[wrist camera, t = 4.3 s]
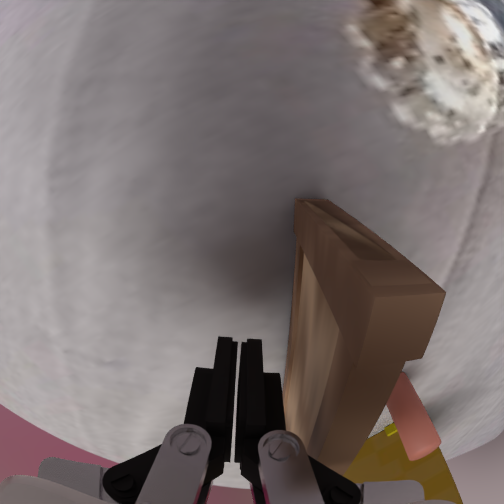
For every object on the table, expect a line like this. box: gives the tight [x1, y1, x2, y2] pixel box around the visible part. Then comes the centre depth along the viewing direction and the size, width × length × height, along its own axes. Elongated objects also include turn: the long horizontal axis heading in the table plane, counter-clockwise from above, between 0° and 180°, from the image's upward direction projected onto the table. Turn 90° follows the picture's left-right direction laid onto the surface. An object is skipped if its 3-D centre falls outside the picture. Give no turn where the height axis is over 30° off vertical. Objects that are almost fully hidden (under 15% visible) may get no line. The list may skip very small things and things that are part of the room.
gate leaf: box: [282, 198, 446, 476], centre depth 11 cm, size 16×2×9 cm, turn 0°
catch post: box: [386, 372, 441, 461], centre depth 15 cm, size 2×2×7 cm
